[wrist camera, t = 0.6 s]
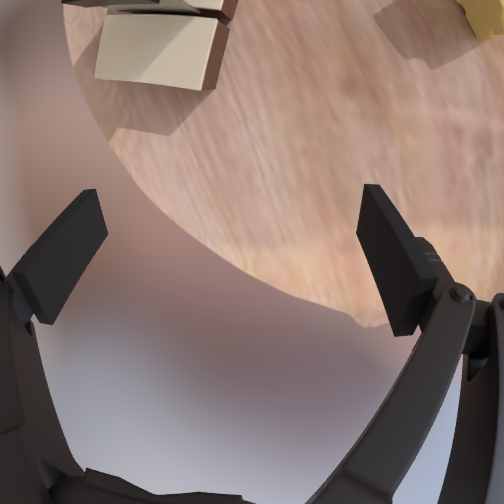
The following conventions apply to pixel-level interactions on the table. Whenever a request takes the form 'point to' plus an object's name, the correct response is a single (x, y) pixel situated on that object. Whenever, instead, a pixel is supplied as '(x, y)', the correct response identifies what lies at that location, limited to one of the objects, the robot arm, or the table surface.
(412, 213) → the table surface
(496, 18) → the cheese
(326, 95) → the table surface
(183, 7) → the dough scraper
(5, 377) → the robot arm
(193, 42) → the split beige slab
